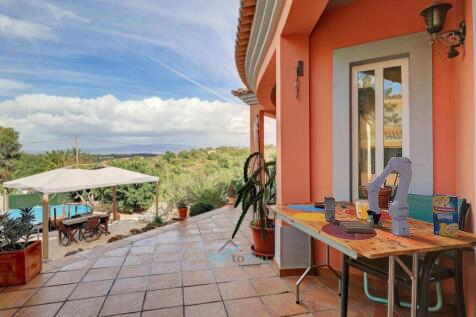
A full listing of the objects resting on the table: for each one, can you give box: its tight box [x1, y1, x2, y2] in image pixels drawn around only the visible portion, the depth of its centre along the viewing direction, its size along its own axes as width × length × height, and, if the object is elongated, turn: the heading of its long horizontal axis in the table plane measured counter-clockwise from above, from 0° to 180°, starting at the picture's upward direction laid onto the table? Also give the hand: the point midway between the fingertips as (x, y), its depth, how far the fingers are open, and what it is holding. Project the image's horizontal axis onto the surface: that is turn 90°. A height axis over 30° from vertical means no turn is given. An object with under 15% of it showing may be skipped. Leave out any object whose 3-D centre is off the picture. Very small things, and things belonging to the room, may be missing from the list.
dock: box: [338, 219, 373, 234], centre depth 160 cm, size 20×14×2 cm
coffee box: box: [323, 196, 336, 222], centre depth 183 cm, size 9×6×16 cm
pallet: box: [365, 218, 383, 228], centre depth 164 cm, size 5×8×4 cm, turn 82°
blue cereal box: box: [431, 193, 460, 238], centre depth 143 cm, size 7×11×22 cm, turn 54°
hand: (373, 222), depth 164 cm, fingers open, 7 cm apart
